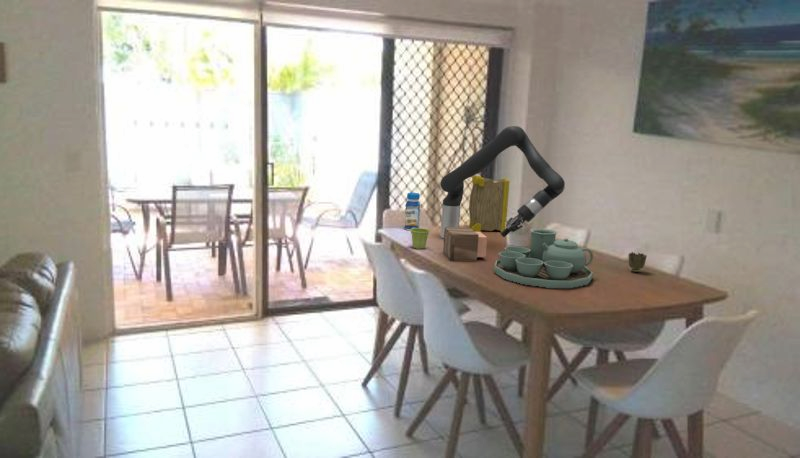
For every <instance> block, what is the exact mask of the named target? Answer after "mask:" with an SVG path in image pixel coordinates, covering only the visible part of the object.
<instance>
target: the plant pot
mask: <svg viewBox="0 0 800 458" xmlns="http://www.w3.org/2000/svg"><path fill="white" fill-rule="evenodd" d="M409 231H410V233H411V242H412V248H414V249H417V250H422V249H425V248H426V245H427V242H428V241H427V240H428V236H429V234H430V232H431V231H430V229H428V228H422V227H419V228H412V229H410V230H409Z"/></svg>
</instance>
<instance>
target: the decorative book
mask: <svg viewBox="0 0 800 458" xmlns="http://www.w3.org/2000/svg"><path fill="white" fill-rule="evenodd" d="M471 182H472V183H471V184H472V187H471V191H470V195H469V203H468V204H469V205H468V211H469V225H468V226H469V227H468V228H471V229H472V230H473V231H475V232H481V233H482V231H489V232H492V231H494V230H497V231H500V233H501V232H502V231H503V230H505V222H506V223H507V217H508V203H509V193H510V192H509V191H510V180H509V179H507V178H503V177H501V178H500V179H496V180H494V179H492V178H485V177H482V176H481V175H474V176H472V181H471Z"/></svg>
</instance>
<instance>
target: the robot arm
mask: <svg viewBox="0 0 800 458" xmlns="http://www.w3.org/2000/svg"><path fill="white" fill-rule="evenodd" d="M510 147H516V148H517V149H519V150H520V151H521V152H522V153H523V155H524V157H525V158H526V160H527V163H528V165H529V166H530V168H531V170H532V171H533V172H534V173H535V174H536V175H537V176H538V178H540V179H541V180H542V181H544V182H545V183H546V184H547V186H545V187H544V188H543V189H542V190H541V189H540V190H538V192H536V193H535V194H534V195H533V196H532V197H531V198H529V199H528V200H527V201H526V202H524V203H523V204H522V206H520V207H519V208H518V209H517V210H516V211H517V215H514V217H510V218H509V220H508V222H506V229H505V230H503V231H502V232H501V231H500V235H501V236H502V238H505V237H506V236H507V235H509V234H510V233H514V232H516V231H518V230H519V229H522V228H523V224H524V223H525V222H527V223H530V222H531V221H532V220H533V219H534V218H535V217H536V216H537V215H539V214H540V213H541V211H542V210H543V209H544V208H545V207H547V205H548V204H550V202H552V201H553V200H554V199H556V198H557V197H559V196H560V195H562V193H563V192H564V190H565V188H566V187H565V180H564V178H563V177H562V176H561V175H560V174H559V173H558V172H557V171H556V170H554V169H553V168H552V166H551V165H550V164H549V163H548V162H547V161H546V160H545V158H544V157H543V156H542V155H541V153H540V152H539V151H538V150H537V149H536V147H535V146H534V144H533V143H532V140H530V138H529V136H528V135H527V133H526V132H525V130H524V129H523V128H522V127H521V126H518V125H513V126H512V125H510V126H507V127H505V128H504V129H502V130H501V131H500V132H499V133H498V134H497V135H496V136H495V137H494V138H493V139H492V140H491V141H490V142H488V143H487V144H485V145H484V146H483V147H482V148H480V149H478V150H477V151H476V152H474V153H473V154H472V155H471V156H470V157H469V158H467V159H466V160H465V161H464V162H463V163H462V164H460V165H459V166H458V167H457V168H455V169H454V170H452V171H450V172H448V173H446V174H445V175H444V176H443V177H442V178H441V179H440V188H441V190H442V191H444V192H446V193H447V194H446V196H445V197H444V198H443V200H442V207H441V208H442V211H441V223H440V224H441V225H440V226H441V227H440V228H441V229H440V238H441V239H444V231H445V227H460V218H461V217H460V216H461V203H462V201H463V198H464V188H465V186H464V185H465V181H466V180H467V179H469V178H471V177H472V178H473V176H477V175H478V174H480V173H482V172H483V171H485V169H487V168H488V167H490V166H491V165H492V164H493V163H494V162H495V160H496V158H497V157H498V156H499V155H500V154H501V153H502V152H504V151H505V150H507V149H508V148H510Z"/></svg>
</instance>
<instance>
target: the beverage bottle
mask: <svg viewBox="0 0 800 458" xmlns="http://www.w3.org/2000/svg"><path fill="white" fill-rule="evenodd" d="M406 199H407V201H406V202H405V207H404V208H405V209H404V226H403V227H404V230H406V231H410V229H412V228H420V218H421V217H420V216H421V204H420V201H419V200H420V193H418V192H408V193H407V194H406Z"/></svg>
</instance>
